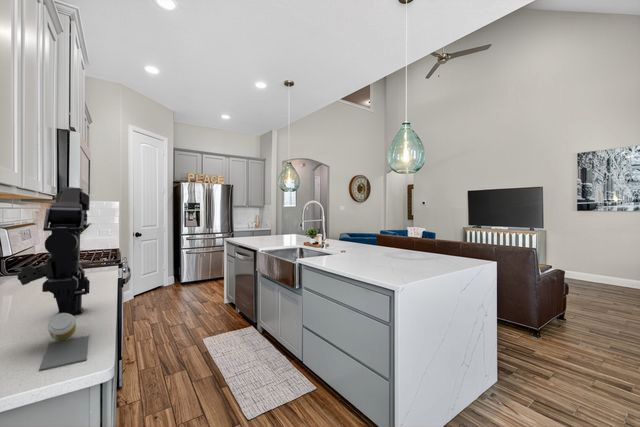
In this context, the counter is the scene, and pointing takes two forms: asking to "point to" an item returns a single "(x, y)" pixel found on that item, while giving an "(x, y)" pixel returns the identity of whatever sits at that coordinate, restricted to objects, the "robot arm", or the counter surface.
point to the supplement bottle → (62, 326)
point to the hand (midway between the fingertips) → (62, 312)
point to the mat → (65, 353)
